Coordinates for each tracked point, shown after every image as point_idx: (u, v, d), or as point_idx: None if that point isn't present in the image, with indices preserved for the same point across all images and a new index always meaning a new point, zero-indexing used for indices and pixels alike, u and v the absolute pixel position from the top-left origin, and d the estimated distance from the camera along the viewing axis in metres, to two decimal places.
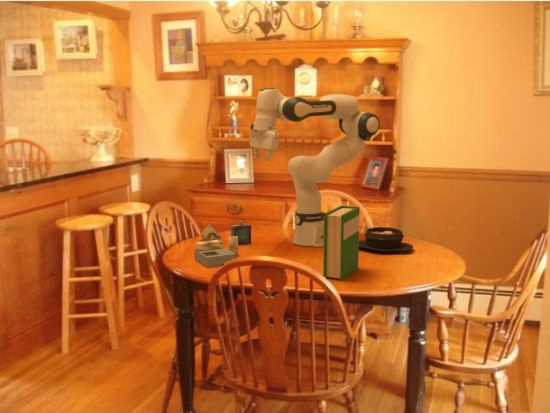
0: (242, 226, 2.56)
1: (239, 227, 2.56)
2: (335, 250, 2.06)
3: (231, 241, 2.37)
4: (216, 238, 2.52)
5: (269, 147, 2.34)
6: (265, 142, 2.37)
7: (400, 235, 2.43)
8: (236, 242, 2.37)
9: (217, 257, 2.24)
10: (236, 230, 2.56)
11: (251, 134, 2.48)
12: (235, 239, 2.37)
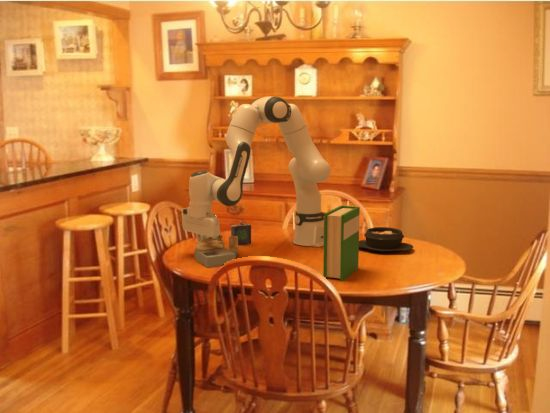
0: (242, 226, 2.56)
1: (239, 227, 2.56)
2: (335, 250, 2.06)
3: (231, 241, 2.37)
4: (218, 238, 2.53)
5: (211, 235, 2.28)
6: (205, 229, 2.30)
7: (400, 235, 2.43)
8: (236, 242, 2.37)
9: (217, 257, 2.24)
10: (236, 230, 2.56)
11: (184, 218, 2.38)
12: (235, 239, 2.37)
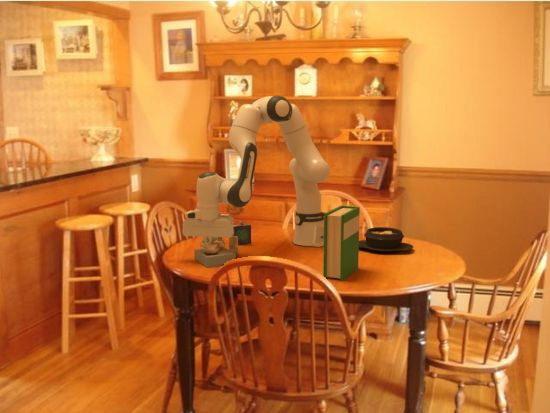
0: (242, 226, 2.56)
1: (239, 227, 2.56)
2: (335, 250, 2.06)
3: (231, 241, 2.37)
4: (219, 237, 2.53)
5: (228, 235, 2.27)
6: (219, 230, 2.28)
7: (400, 235, 2.43)
8: (236, 242, 2.37)
9: (217, 257, 2.24)
10: (236, 230, 2.56)
11: (187, 223, 2.28)
12: (235, 239, 2.37)
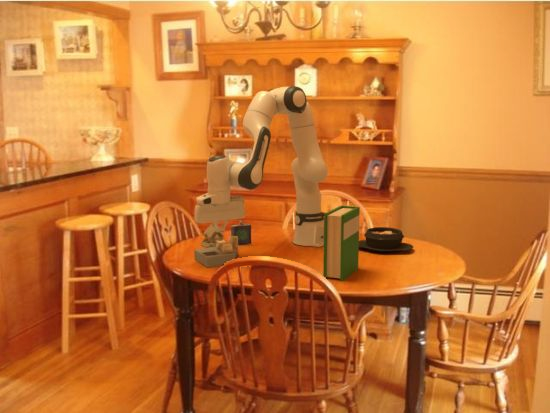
0: (242, 226, 2.56)
1: (239, 227, 2.56)
2: (335, 250, 2.06)
3: (231, 241, 2.37)
4: (220, 237, 2.54)
5: (242, 216, 2.29)
6: (233, 212, 2.27)
7: (400, 235, 2.43)
8: (236, 242, 2.37)
9: (217, 257, 2.24)
10: (236, 230, 2.56)
11: (201, 209, 2.21)
12: (235, 239, 2.37)
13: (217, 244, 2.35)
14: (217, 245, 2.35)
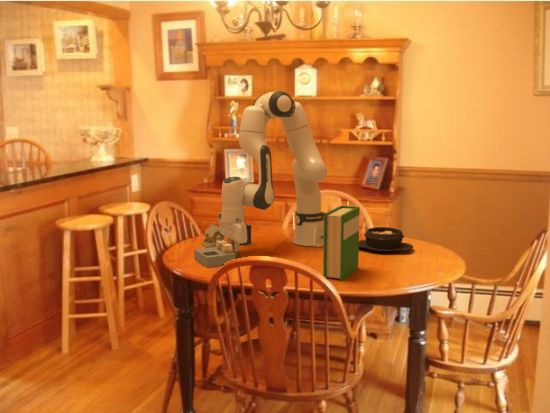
0: None
1: None
2: (335, 250, 2.06)
3: (231, 241, 2.37)
4: (222, 237, 2.54)
5: (238, 241, 2.30)
6: (234, 234, 2.33)
7: (400, 235, 2.43)
8: None
9: (217, 257, 2.24)
10: None
11: (220, 222, 2.43)
12: None
13: (217, 244, 2.35)
14: (217, 245, 2.35)
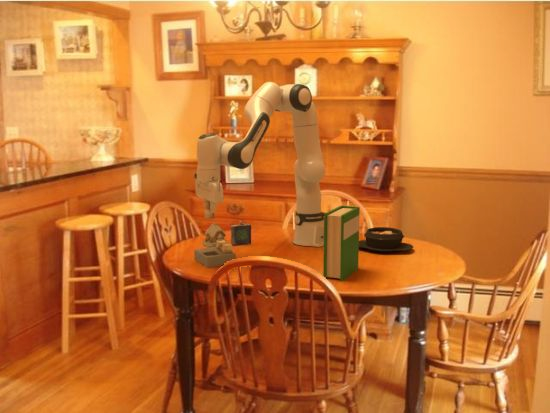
0: (242, 226, 2.56)
1: (239, 227, 2.56)
2: (335, 250, 2.06)
3: (207, 202, 2.22)
4: (223, 236, 2.55)
5: (213, 200, 2.15)
6: (209, 194, 2.18)
7: (400, 235, 2.43)
8: None
9: (217, 257, 2.24)
10: (236, 230, 2.56)
11: (196, 183, 2.29)
12: None
13: (217, 244, 2.35)
14: (217, 245, 2.35)
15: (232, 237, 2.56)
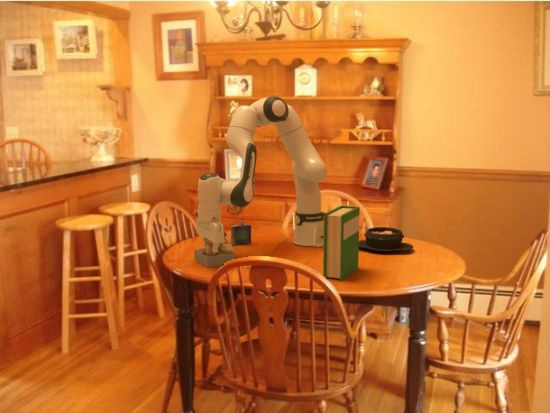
0: (242, 226, 2.56)
1: (239, 227, 2.56)
2: (335, 250, 2.06)
3: (208, 248, 2.26)
4: (224, 236, 2.56)
5: (214, 240, 2.18)
6: (210, 234, 2.21)
7: (400, 235, 2.43)
8: None
9: (217, 257, 2.24)
10: (236, 230, 2.56)
11: (197, 221, 2.32)
12: (212, 246, 2.26)
13: None
14: None
15: (232, 237, 2.56)
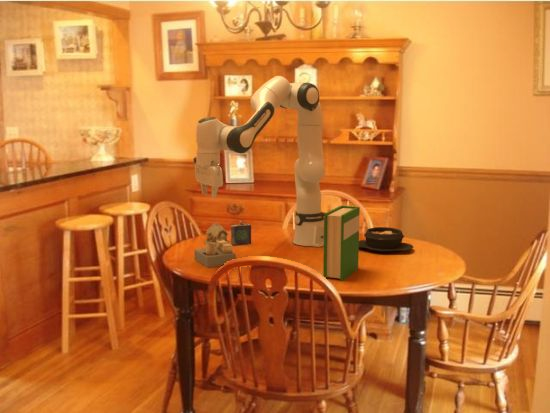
0: (242, 226, 2.56)
1: (239, 227, 2.56)
2: (335, 250, 2.06)
3: (208, 248, 2.26)
4: (225, 236, 2.56)
5: (213, 184, 2.14)
6: (209, 178, 2.17)
7: (400, 235, 2.43)
8: (213, 249, 2.26)
9: (217, 257, 2.24)
10: (236, 230, 2.56)
11: (196, 168, 2.28)
12: (212, 246, 2.26)
13: (217, 244, 2.35)
14: (217, 245, 2.35)
15: (232, 237, 2.56)
